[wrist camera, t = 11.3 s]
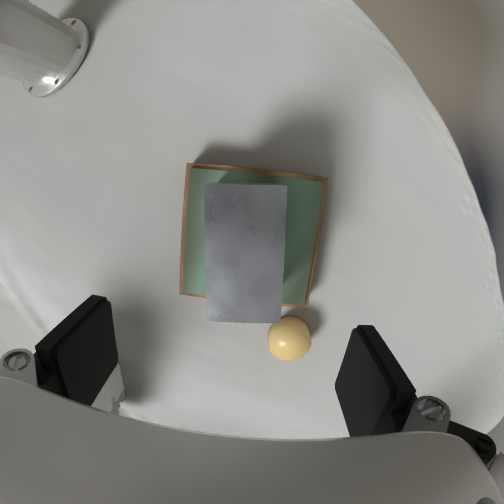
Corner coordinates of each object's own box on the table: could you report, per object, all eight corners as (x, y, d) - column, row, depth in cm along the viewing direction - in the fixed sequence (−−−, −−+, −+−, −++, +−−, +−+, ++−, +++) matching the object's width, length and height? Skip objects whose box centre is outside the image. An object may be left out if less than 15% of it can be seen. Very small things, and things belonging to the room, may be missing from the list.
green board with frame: (185, 285, 33) (178, 295, 30) (192, 163, 30) (185, 162, 27) (303, 298, 33) (307, 309, 31) (322, 177, 30) (328, 178, 27)
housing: (217, 182, 27) (204, 184, 20) (280, 183, 27) (287, 185, 20) (218, 289, 30) (207, 320, 23) (275, 290, 30) (280, 323, 23)
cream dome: (266, 347, 36) (266, 359, 33) (271, 313, 34) (272, 324, 32) (304, 350, 36) (306, 361, 33) (311, 317, 34) (315, 327, 32)
